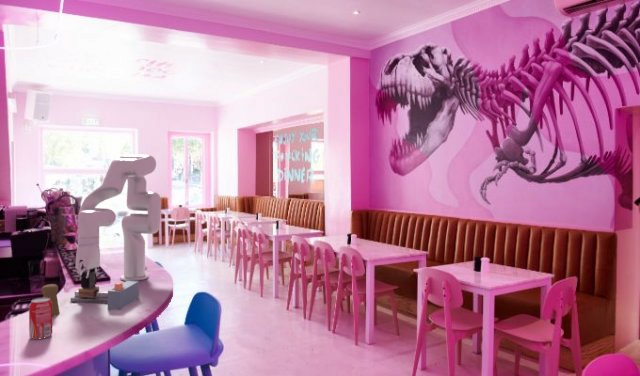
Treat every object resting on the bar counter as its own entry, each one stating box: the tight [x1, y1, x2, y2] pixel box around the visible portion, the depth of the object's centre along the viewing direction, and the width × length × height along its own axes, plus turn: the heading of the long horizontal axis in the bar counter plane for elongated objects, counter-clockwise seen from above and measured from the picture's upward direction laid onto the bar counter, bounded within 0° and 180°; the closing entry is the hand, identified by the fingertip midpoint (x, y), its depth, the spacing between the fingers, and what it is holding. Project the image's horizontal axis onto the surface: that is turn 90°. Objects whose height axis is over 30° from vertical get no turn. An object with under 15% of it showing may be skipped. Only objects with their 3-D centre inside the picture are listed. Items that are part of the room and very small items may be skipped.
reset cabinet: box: [107, 280, 140, 310], centre depth 176 cm, size 15×5×7 cm, turn 176°
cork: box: [41, 283, 60, 318], centre depth 161 cm, size 6×6×11 cm
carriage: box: [78, 272, 100, 298], centre depth 179 cm, size 4×6×9 cm
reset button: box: [113, 282, 124, 290], centre depth 172 cm, size 3×3×6 cm
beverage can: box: [28, 297, 53, 340], centre depth 140 cm, size 6×6×12 cm
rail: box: [70, 290, 108, 304], centre depth 179 cm, size 6×19×4 cm, turn 86°
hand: (88, 285), depth 179 cm, fingers closed on carriage, 4 cm apart
